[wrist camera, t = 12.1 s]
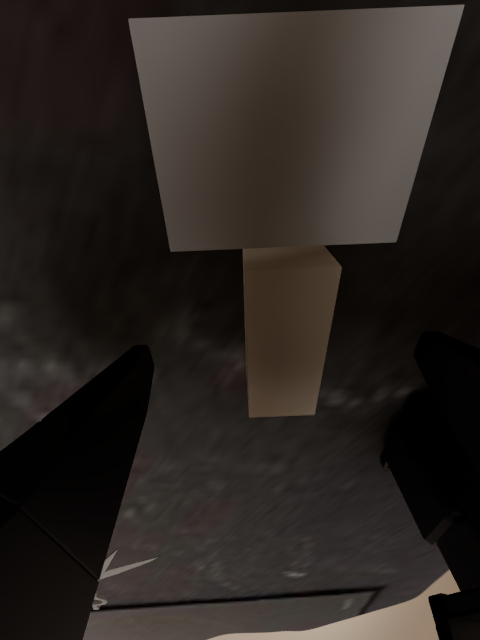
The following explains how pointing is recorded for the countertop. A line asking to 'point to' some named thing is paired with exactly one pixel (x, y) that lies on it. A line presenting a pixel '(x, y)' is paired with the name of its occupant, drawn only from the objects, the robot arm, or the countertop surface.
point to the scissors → (110, 573)
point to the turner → (289, 157)
